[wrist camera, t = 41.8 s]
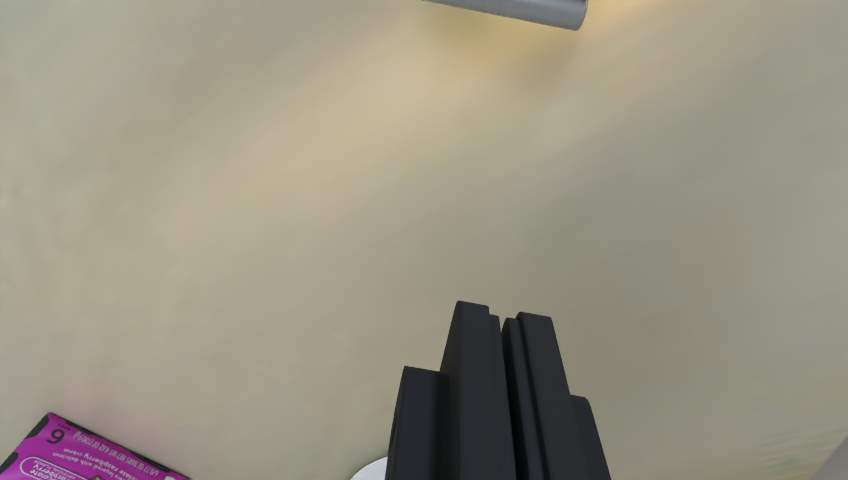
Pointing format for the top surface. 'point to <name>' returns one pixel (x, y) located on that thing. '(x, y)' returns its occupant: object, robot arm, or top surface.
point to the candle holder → (372, 471)
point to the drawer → (529, 10)
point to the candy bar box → (76, 457)
